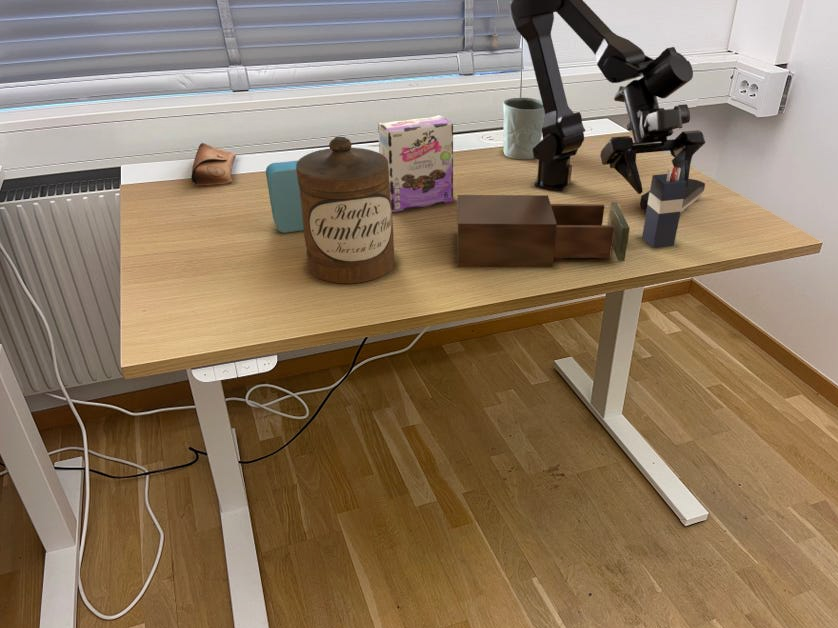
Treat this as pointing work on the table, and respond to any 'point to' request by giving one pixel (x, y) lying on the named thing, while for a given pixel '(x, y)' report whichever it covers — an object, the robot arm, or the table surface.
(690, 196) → the black sponge
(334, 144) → the wooden container
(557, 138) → the robot arm
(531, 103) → the green ceramic pot
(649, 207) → the straw box
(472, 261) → the cabinet
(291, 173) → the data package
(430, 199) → the candy box
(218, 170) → the sunglasses case
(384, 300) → the table surface
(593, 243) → the drawer
